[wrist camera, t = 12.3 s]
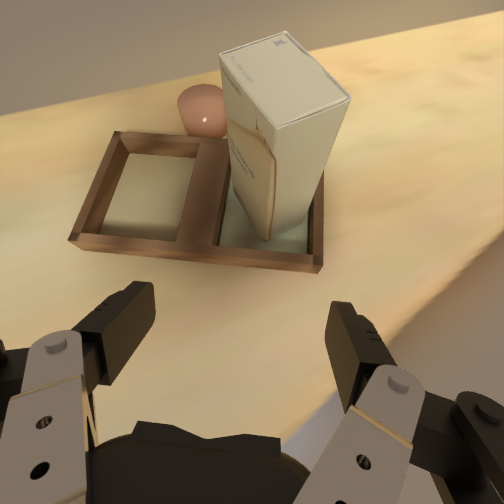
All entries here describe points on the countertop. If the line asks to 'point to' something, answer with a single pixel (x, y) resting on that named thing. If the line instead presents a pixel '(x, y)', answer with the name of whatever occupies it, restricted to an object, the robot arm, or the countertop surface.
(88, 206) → the walnut organizer
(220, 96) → the pinkish brown rounded piece
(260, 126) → the skincare box
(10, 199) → the countertop surface
